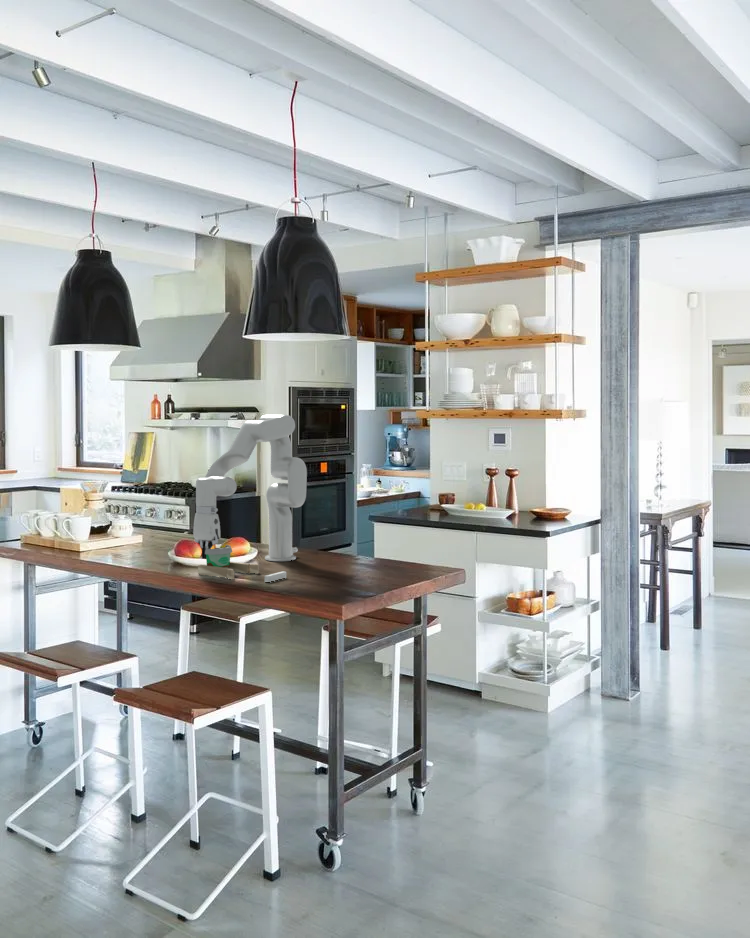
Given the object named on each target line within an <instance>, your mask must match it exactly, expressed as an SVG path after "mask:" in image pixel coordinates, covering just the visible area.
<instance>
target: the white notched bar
mask: <svg viewBox="0 0 750 938" xmlns="http://www.w3.org/2000/svg"><path fill="white" fill-rule="evenodd" d="M282 578H285V579H287V571H278V572H275V573H270V574H266V575H264V583H265V582H270V583H272V582H271V581H274V582H276V581H275V580H278V579H282ZM282 580H283V579H282ZM278 581H279V580H278Z"/></svg>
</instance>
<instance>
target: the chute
mask: <svg viewBox="0 0 750 938" xmlns="http://www.w3.org/2000/svg"><path fill="white" fill-rule="evenodd" d="M259 567H260V563H248V562H247V563H245V562H237V561H230V565H229V568H223V567H215V566H207V564H206V565H205V564H198V565H197V569H198V570H197V575H198V574H200V575H199V576H205V575H209V576H208V577H212V576H219V577H218V578H220V577H226V578H225V579H227V578H229V579H234V580H235V573H238V572H241V573H240V574H246V573H248V574H250V573H255V574H254V575H258V574H259V573H260V568H259ZM229 579H228V580H229Z"/></svg>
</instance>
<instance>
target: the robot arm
mask: <svg viewBox="0 0 750 938" xmlns="http://www.w3.org/2000/svg"><path fill="white" fill-rule="evenodd" d="M295 429H296V421H295V420H294V418H293V417H292V416H291V415H290V414H289V415H288V414H273V413H272V414H270V413H269V414H263V415H261V416H260V417H259V418H258V420H257V419H254V420H253V419H251V420H246V421H244V422H243V423H242V425H241V427H240V429H239V431H238V432H237V434H236V435H235V438H234V440H233V441H232V444H231V445H230V447H229V449H228V450H227V451H226V452H224V453H223V454H221V455H220V457H219V458H217V459H216V460H215V461H214V462H213V463H212V464H211V466H210V467H209V468H208V471H207V473H206V474H205V476H204V477H199V478H197V479H196V482H195V488H196V489H195V511H196V512H195V514H194V519H193V529H192V530H193V531H192V533H193V538H194V542H195V543H197V544H198V545H199V546H200V549H201V559H203V560H206V554H205V550H206V549H213V546H214V545H218V543H219V540H220V539H221V525H220V524H221V522H220V517H219V514H218V513H217V512H218V511H219V509H218V508H217V497H218V496H219V497H229V496H232V495H233V494H235V492H236V491H237V487H238V485H237V482H236V480H235V479H233V478H232V477H230V476H226V474H227V473H229V472H230V471H231V470H232V469H234V468H237V467H239V466H241V465H243V464H246V462H248V461H249V459H250V458H251V455H252V454H253V452H254V449H255V448H256V446H257V444H258V443H268V442H269V444H270V475H271V476H272V477H273V478H274V479H276V480H281V481H287V482H275V483H272V484H270V486H268V488H267V490H266V502H267V508H268V554H267V555H265V556H264V559H265V560H266V561H269V562H290V561H291V560H292V561H294V560H296V559H297V556H296V555H294V553H297V552H298V549H299V548H298V547H293V514H292V511H291V508H300V507H302V506H303V505H304V504H305V501H306V500H307V480H308V479H307V477H308V469H307V466H306V463H305V462H304V460H303V459H301V458H300V457H293V454H292V453H293V451H292V447H293V446H292V442H291V439H290V437H289V436H291V434H293V433H294V431H295Z"/></svg>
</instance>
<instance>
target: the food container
mask: <svg viewBox="0 0 750 938" xmlns="http://www.w3.org/2000/svg"><path fill="white" fill-rule="evenodd" d="M232 549H233V548H232V547H231V545H230V544H225V546H224V547H214V548H211V549H206V550H205V554H206V559H205V560H206V565H207V566H215V567H223V568H229V565H230V562H231V554H232V553H233V550H232Z"/></svg>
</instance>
